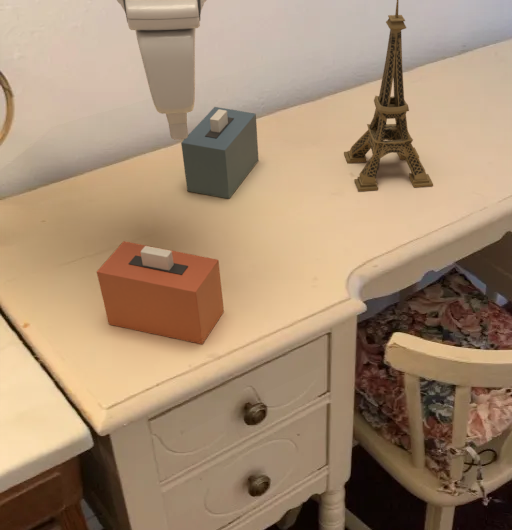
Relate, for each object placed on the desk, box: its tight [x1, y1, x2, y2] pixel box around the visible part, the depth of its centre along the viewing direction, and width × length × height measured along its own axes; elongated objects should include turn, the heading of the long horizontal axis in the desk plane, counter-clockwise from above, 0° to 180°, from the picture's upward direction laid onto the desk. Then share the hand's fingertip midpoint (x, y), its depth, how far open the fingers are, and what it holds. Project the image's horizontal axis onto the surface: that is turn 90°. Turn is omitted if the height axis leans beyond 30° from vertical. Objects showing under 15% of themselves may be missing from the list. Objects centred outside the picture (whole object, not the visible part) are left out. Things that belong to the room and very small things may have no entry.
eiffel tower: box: [343, 0, 434, 192], centre depth 109 cm, size 11×11×25 cm
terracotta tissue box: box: [96, 240, 225, 345], centre depth 89 cm, size 11×6×9 cm, turn 76°
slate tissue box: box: [180, 106, 259, 200], centre depth 112 cm, size 11×6×9 cm, turn 166°
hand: (177, 115), depth 90 cm, fingers open, 8 cm apart
